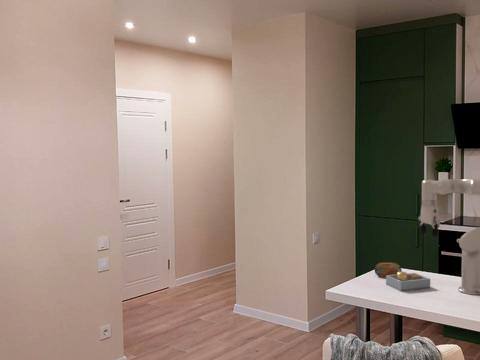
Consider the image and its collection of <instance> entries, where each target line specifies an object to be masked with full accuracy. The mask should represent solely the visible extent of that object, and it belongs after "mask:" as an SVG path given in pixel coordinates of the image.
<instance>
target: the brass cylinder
mask: <svg viewBox="0 0 480 360" xmlns="http://www.w3.org/2000/svg"><path fill="white" fill-rule="evenodd" d="M407 274H408V273H407V272H406V271H402V272H397V280H400V281H407Z"/></svg>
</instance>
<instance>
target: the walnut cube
mask: <svg viewBox="0 0 480 360" xmlns="http://www.w3.org/2000/svg"><path fill="white" fill-rule="evenodd" d="M407 274H408V273H407ZM420 275H421V274H419V275H418V273H416V274H408V281H409V280H419V279H421V276H422V275H421V276H420Z"/></svg>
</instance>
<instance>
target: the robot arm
mask: <svg viewBox="0 0 480 360" xmlns="http://www.w3.org/2000/svg"><path fill="white" fill-rule="evenodd" d="M448 194H466V195H470V196H479V197H480V178H470V179H469V178H466V179H462V178H461V179H459V178H457V179H456V178H453V179H452V178H451V179H450V178H449V179H448V178H447V179H446V178H445V179H441V180H434V179H425V180H422V181H421V208H420V215H419V216H418V217H417V218H418V223H419V226H420V234H426V233H427V225H430V226H431V227H432V228H431V236H432V237H437V236H438V235H439V233H438V232H439V228H440V226H441V225H440V224H441V220H440V217H439V207H438V206H437V202H438V201H437V198H438V197H437V195H448ZM458 244H459V248H461V286H458V288H457V289H458V292H460V293H463V294H466V295H472V296H473V295H480V226H478V227H476V228H474V229H472V230H468V231H467V232H465V233H463V235H461V236H460V238H459V241H458Z"/></svg>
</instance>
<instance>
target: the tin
mask: <svg viewBox="0 0 480 360" xmlns="http://www.w3.org/2000/svg"><path fill="white" fill-rule="evenodd" d="M397 272H403V271H402V267H401V266H400V264H398V263H396V262H378V263H377V264H376V265H375V267H374V273H375V275H376V276H378V277H379V278H386V275H397Z"/></svg>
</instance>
